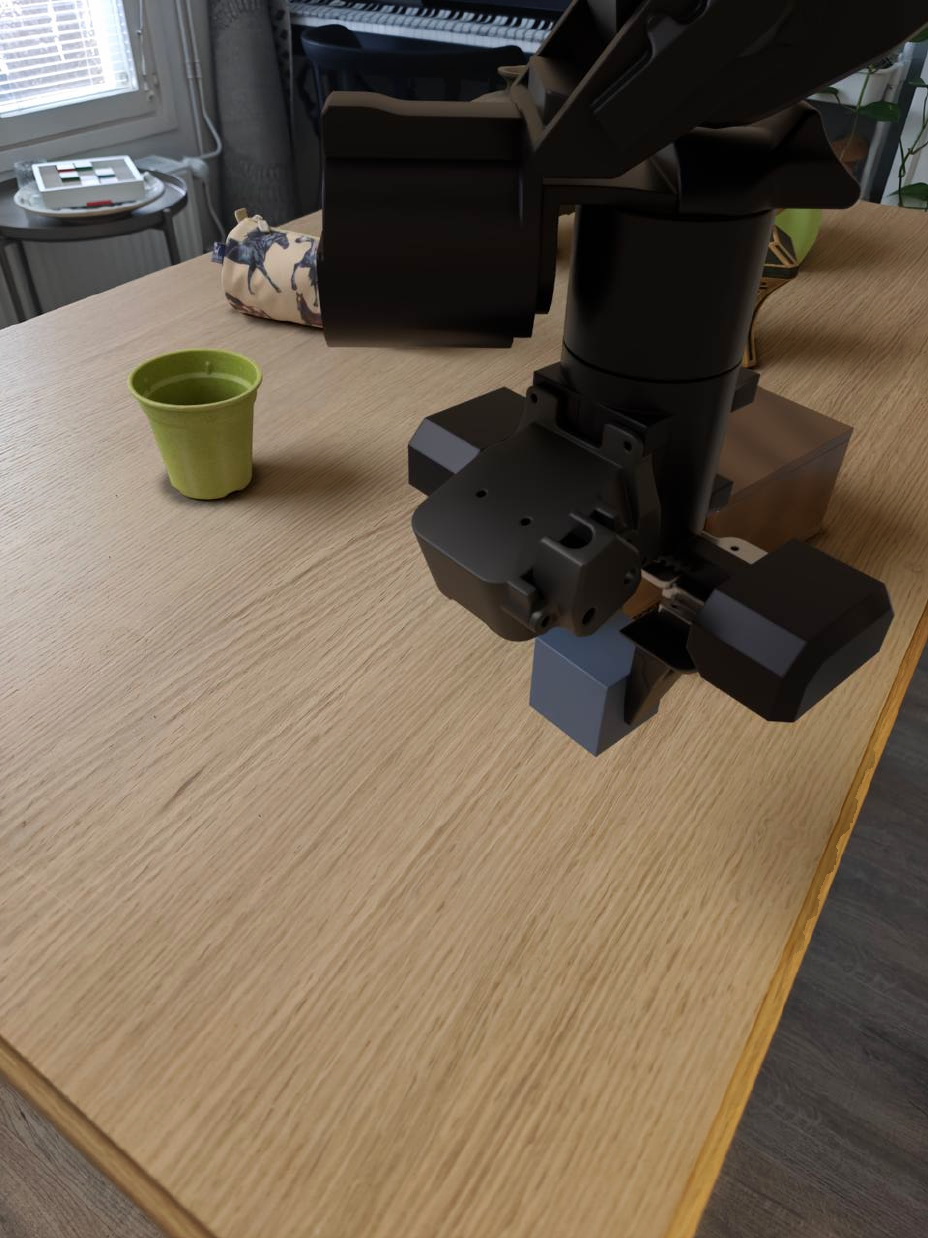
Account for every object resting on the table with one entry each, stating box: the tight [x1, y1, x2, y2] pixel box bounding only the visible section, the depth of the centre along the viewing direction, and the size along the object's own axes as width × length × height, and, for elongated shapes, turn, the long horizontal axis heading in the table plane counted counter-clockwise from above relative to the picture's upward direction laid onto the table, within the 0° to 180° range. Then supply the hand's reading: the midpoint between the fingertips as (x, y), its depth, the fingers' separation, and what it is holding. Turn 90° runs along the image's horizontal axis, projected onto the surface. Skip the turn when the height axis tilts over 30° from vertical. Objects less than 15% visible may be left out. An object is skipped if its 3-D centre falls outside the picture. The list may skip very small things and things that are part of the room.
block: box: [528, 610, 661, 758], centre depth 39 cm, size 4×4×4 cm
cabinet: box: [704, 385, 855, 553], centre depth 65 cm, size 15×12×9 cm
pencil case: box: [210, 207, 323, 329], centre depth 92 cm, size 22×8×10 cm, turn 70°
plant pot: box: [126, 347, 263, 500], centre depth 69 cm, size 9×9×9 cm
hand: (595, 691), depth 40 cm, fingers closed on block, 4 cm apart
